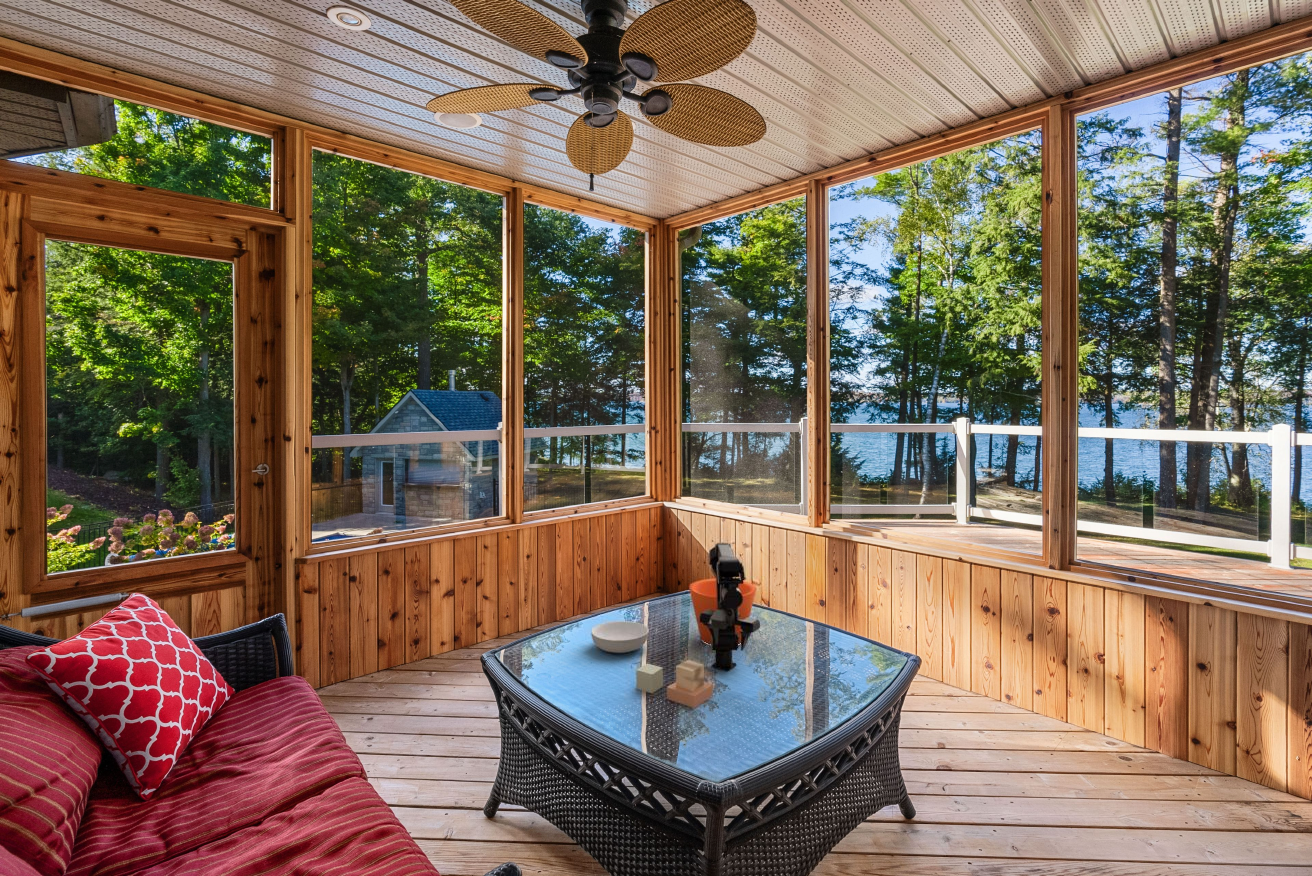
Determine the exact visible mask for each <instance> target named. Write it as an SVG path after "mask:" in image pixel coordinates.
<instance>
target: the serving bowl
mask: <svg viewBox="0 0 1312 876" xmlns="http://www.w3.org/2000/svg"><path fill="white" fill-rule="evenodd" d="M649 631H650V629H649V627H648V626H646V625H645V624H642V623H639V622H636V621H628V620H625V621H624V620H615V621H614V620H613V621H607V622H603V623H599V624H596V625H595V626H593V628H591V630H590V633H591V634H590V635H591V639H592V642H593V644H595V646H596V647H598V648H599V649H600V650H602V651H605V652H609V653H613V654H615V653H616V654H622V653H623V654H624V653H629V652H632V651H636V650H638V649H639V648H642V647H643V645H644V644H645V643H646V642H647V640H648V637H649V634H650V633H649Z"/></svg>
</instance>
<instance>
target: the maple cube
mask: <svg viewBox="0 0 1312 876" xmlns="http://www.w3.org/2000/svg"><path fill="white" fill-rule="evenodd" d="M675 682H676V686H678V687H681V688H684V689H687V690H690V691H694V690H695V689H697V688H699V687H700V686H702V685H704V682H705V665H704V664H701V663H699V662H695V661H693V660H689V659H687V660H685V661H684V662H681V663H679V664H678V665H676V666H675Z"/></svg>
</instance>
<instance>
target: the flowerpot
mask: <svg viewBox="0 0 1312 876" xmlns="http://www.w3.org/2000/svg"><path fill="white" fill-rule="evenodd" d="M688 589H689V593H690V597H691V603H692V606H693V611H694V615H695V620H696V623H697V628H698V633H699V637H700V640H703V641H704V642H706V643H708V644H711V633H710V631H709V629H708V627H706V626H705V625H703V623H702V622H699V616H700V614H701V613H702V612H704V611H706V610H707V609H709V610H714V611H716V610H717V596H716V578H705V579H700V580H696V581H693V582H691V583H690V584H689V586H688ZM739 590H740V592H741V594H742V597H743V602H742V604H741V605H740V606H739V607H738V613H740V617H739V618H738V619H741V620H744V619H746V618H747V617H750V618H751V612H752V608H753V604H754V600H755V599H754V598H755V595H756V590H757V587H756V586H755V585H754V584H752V583H751V582H748V581H745V580H743V584H739ZM740 631H742V629H741V626H738V625H735V632H737V634H738V636H739V643H738V644H740V643H741V633H740ZM740 645H741V644H740Z"/></svg>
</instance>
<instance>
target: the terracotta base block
mask: <svg viewBox="0 0 1312 876" xmlns="http://www.w3.org/2000/svg"><path fill="white" fill-rule="evenodd" d="M711 696H712V697H713V696H714V684H713V683H709V682H707V681H704V685H702V686H700V687H699V688H697V689H695V690H694V691H690V690H687V689H684V688H681V687H678V686H676V681H675V682H673V683H672V684H669V685H668V686H666V699H667V700H670V701H673V702H675V703H679V704H681V705H685V706H687V707H691V708H693V709H696V708H698V706H700V705H701V704H703V703H704V702H706V701H707V700H709V699H710V698H712V697H711Z"/></svg>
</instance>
